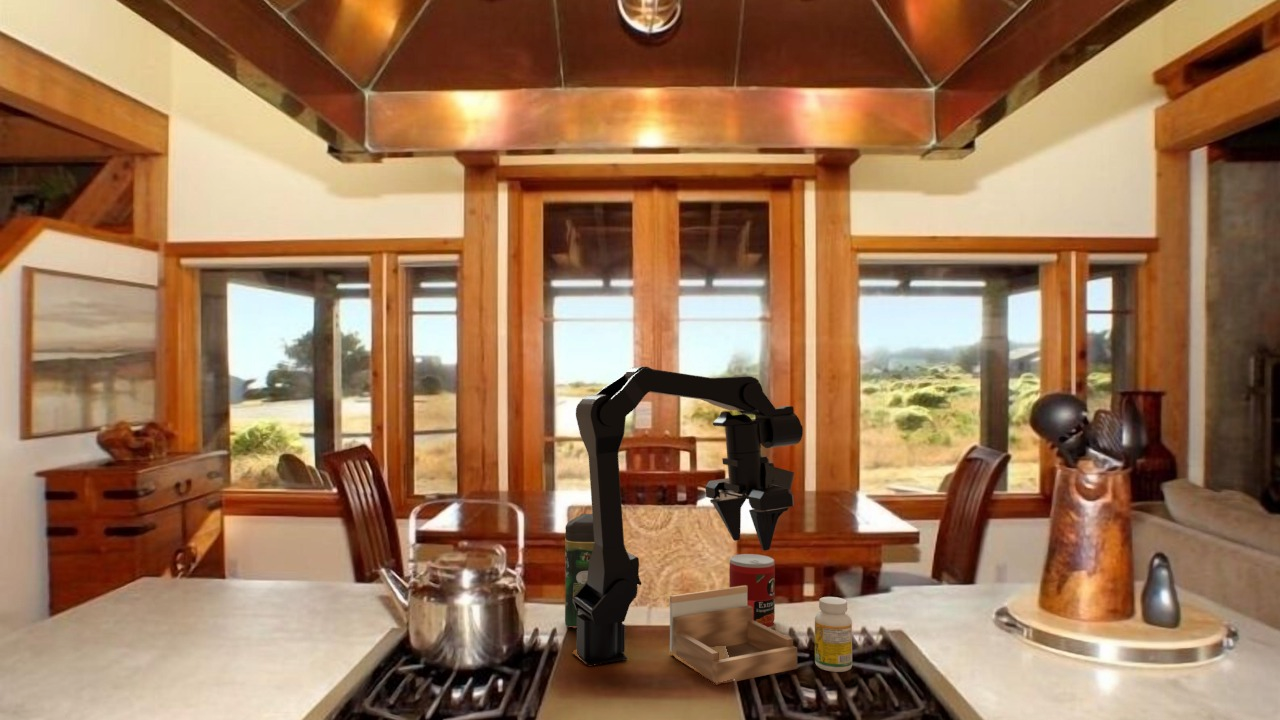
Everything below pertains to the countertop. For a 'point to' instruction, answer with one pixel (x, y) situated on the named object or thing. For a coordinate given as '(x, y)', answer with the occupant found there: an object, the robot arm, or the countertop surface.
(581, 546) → the coffee jar
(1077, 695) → the countertop surface
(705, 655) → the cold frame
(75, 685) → the countertop surface
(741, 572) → the canned food
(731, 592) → the lid panel
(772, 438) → the robot arm
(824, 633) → the supplement bottle
